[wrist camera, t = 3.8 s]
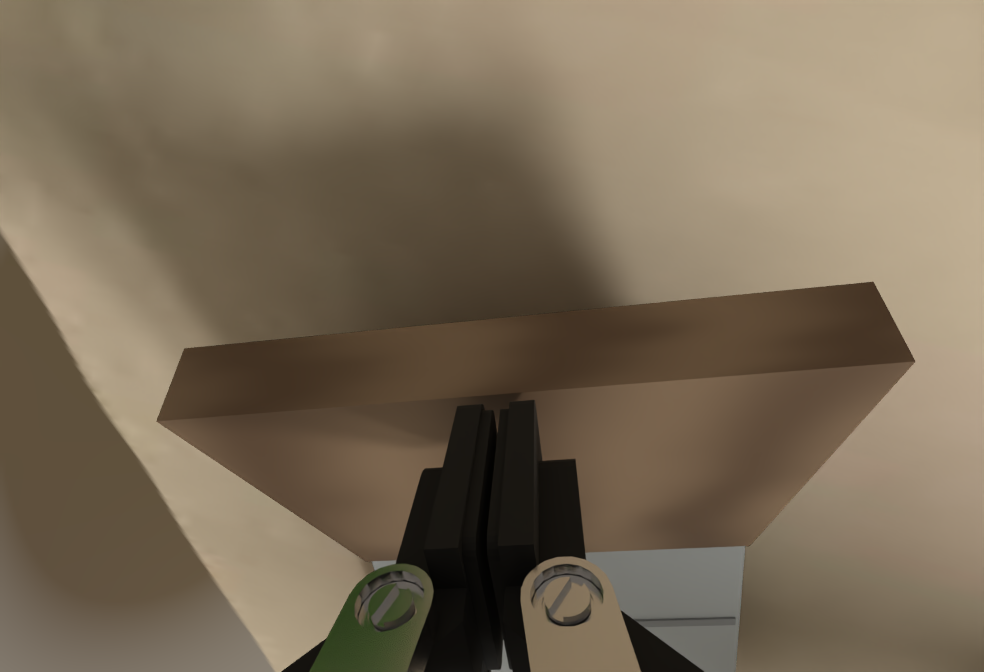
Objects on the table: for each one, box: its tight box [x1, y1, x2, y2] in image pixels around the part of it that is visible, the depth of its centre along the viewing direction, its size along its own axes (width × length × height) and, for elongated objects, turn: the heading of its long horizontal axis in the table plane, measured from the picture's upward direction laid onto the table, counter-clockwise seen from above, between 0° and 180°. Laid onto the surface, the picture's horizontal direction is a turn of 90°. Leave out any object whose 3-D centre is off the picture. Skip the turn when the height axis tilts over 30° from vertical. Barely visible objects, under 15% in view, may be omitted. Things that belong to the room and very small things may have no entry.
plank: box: [157, 282, 915, 562], centre depth 18 cm, size 16×14×2 cm
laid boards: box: [372, 546, 745, 672], centre depth 26 cm, size 16×9×2 cm, turn 98°
